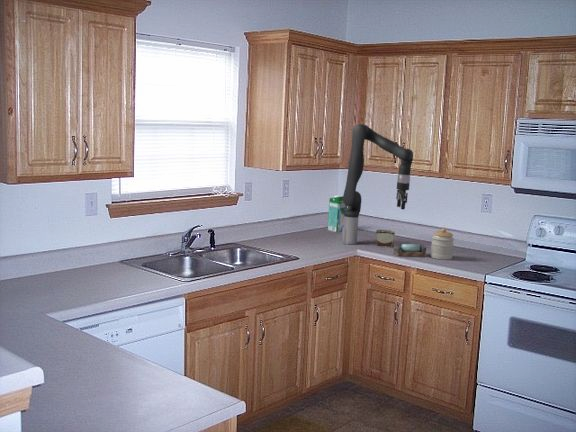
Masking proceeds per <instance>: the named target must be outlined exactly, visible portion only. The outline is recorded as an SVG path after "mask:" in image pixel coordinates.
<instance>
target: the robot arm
mask: <svg viewBox="0 0 576 432" xmlns="http://www.w3.org/2000/svg"><path fill="white" fill-rule="evenodd" d="M351 134H352V137H351V139H352V140H351V150H350V155H349V161H348V168H347V176H346V181H345V187H344V192H343V195H342V196H343V202H344V204H345V205H346V206H347V210H346V211H345V212H344V225H343V228H342V232H341V244H343V245H344V244H345V245H357V244H358V230H359V215H360V213H361V210H362V209H361V207H362V195H361V193H360V192H359V191H358V190H357V185H358V183H359V181H360V179H361V178H362V177H361V176H362V174H363V172H364V166H365V155H364V143H365V140H366V141H369V142H372V143H373V144H375V145H376V146H378V147H379V148H380V149H382V150H383V151H385V152H387V153H389V154H391V155H393V156H395V157H396V158H397V159H399V160H400V164H399V166H398V175H397V179H396V180H397V181H396V197H395V199H396V201H397V203H396V207H397V208H400V209H401V210H405V209H406V204H407V203H408V194H409V193H408V192H407V191H409V190H410V183H411V171H412V170H411V169H412V164H413V160H414V159H413V158H414V152H413V150H411V149H410V148H405V147H402V146H400V145H399V144H398V143H397V142H395V141H393V140H391V139H389V138H387V137H385V136H383V135H381V134H379V133H378V132H376V131H374V130H373V129H372V128H370V127H369V126H368V125H366V124H364V123H363V124H361V123H360V124H357V125H355V126H354V127H353V128H352V132H351Z"/></svg>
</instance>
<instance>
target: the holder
mask: <svg viewBox="0 0 576 432" xmlns="http://www.w3.org/2000/svg"><path fill="white" fill-rule="evenodd" d="M419 245H420V252H402V247H401V245H399V244H398V243H397V244H396V243H394V244H393V253H392V254H394V255H395V256H397V257H398V258H399V257H405V258H407V257H409V258H410V257H411V258H426V257H427V247H426V246H424V245H422V244H419Z"/></svg>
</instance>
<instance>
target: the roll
mask: <svg viewBox="0 0 576 432" xmlns="http://www.w3.org/2000/svg"><path fill="white" fill-rule="evenodd" d="M420 245H421V244H417V243H416V244H415V243H408V244H406V243H402V244H401V245H400V246H401V247H402V252H420Z"/></svg>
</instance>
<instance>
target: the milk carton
mask: <svg viewBox="0 0 576 432" xmlns="http://www.w3.org/2000/svg"><path fill="white" fill-rule="evenodd" d="M328 200H329V205H328V218H327V219H328V220H327V231H330V232H334V233H342V228H343V225H344V212H345V211H346V210H347V208H348V206H346V205H345V204H344V202H343V195H342V196H341V195H334V197H329V199H328Z"/></svg>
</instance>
